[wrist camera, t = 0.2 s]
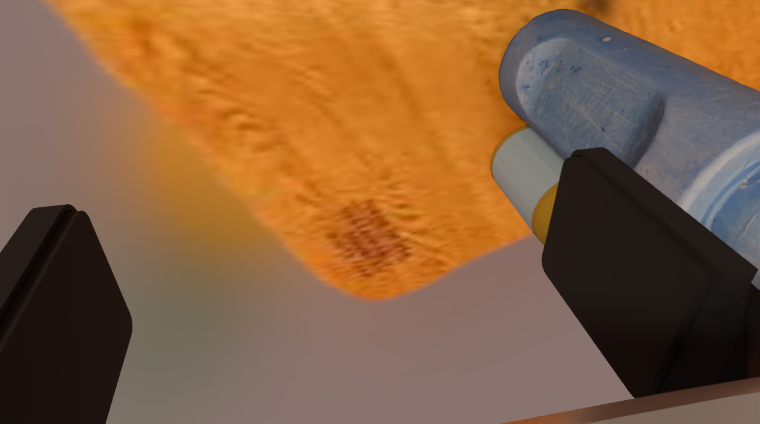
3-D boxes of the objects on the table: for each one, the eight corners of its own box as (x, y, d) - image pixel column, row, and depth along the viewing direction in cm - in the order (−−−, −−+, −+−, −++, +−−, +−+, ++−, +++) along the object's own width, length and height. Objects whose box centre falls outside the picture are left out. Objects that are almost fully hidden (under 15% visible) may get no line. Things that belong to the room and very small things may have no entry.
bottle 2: (566, 128, 47) (892, 404, 22) (476, 101, 43) (745, 391, 19) (623, 28, 42) (1114, 238, 18) (528, -10, 39) (971, 183, 14)
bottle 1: (535, 106, 45) (635, 192, 32) (568, 155, 48) (669, 249, 36) (474, 155, 46) (547, 254, 34) (510, 198, 50) (587, 302, 38)
